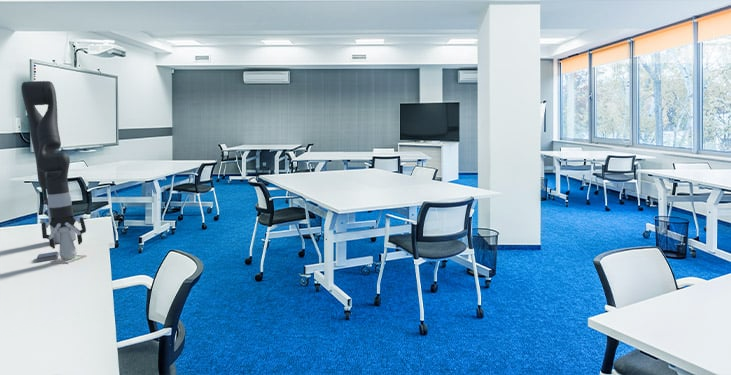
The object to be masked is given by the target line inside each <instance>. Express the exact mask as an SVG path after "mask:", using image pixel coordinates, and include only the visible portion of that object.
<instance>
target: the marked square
mask: <svg viewBox="0 0 731 375" xmlns="http://www.w3.org/2000/svg"><path fill="white" fill-rule="evenodd" d="M84 258H87V255H85V254H82V255H80V254H76V257H75V258H74V259H72V260H62V258H61V257H60V258H59V257H58V259H54V260H50V263H52V264H70V263H74V262H75V261H79V260H81V259H84Z"/></svg>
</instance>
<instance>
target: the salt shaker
mask: <svg viewBox="0 0 731 375" xmlns="http://www.w3.org/2000/svg"><path fill="white" fill-rule="evenodd" d="M70 231H71V229H70V228H69V227H60V228H59V230H58V233H60V243H59V251H58V252H59V257H60V258H62V260H72V259H74V258H75V257H76V255H78V254H77V253H78V251H77V249H76V246H75V244H74V240H72V238H71V235H70Z"/></svg>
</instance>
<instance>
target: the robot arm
mask: <svg viewBox="0 0 731 375" xmlns="http://www.w3.org/2000/svg"><path fill="white" fill-rule="evenodd" d="M20 88H21V94H22V95H21V96H22V99H23V102H24V103H23V104H24V107H25V111H26V115H27V119H28V124H29V132H30V133H29V134H30V138H31V145H32V148H33V152H34V156H35V157H34V158H35V162H36V172H37V173H36V174H37V182H38V184H39V187H40V188H41V189H42V190H46V194H47V198H45V204H46V205H45V206H46V209H47V217H48V221H47V222H46V221H42V222H41V234H42V239H43V240H44V239H47V240H48V241H49V247H50V248H52V249H56V245H55V244H60V233H58V230H59V228H60V227H69V228H70V229H71V231H70V235H71V238H72V240H73V241H75V240H76V239H77V243H78V244H77V245H81V244H82V242H83V236H82V235H83V234H85V233H86V231H87V229H86V225H85V219H84V216H80V217H75V216H74V210H73V204H72V197H71V193H70V188H69V182H68V181H69V180H68V176H69V175H68V174H69V169H70V161H71V159H70V156H69V154H68V153H67V152H65V151H57V150H59V149H60V148H61V146H62V143H61V137H60V136H61V135H60V132H59V125H58V124H59V123H58V104H57V103H58V102H57V93H56V89H55V86H54V84H53V82H51V81H49V80H42V81H41V80H40V81H39V80H38V81H37V80H36V81H24V82H22V83H21V87H20ZM36 106H47V108H46V111H45V113H44V115H41V113H40V112H39V111H38V109H37V107H36ZM56 151H57V152H56ZM76 222H77V223H78V224H80V228H81V230H80V229H78V227H77V226H75V223H76ZM48 227H49V230H50V234H48V233H47V232H48V231H47V228H48ZM76 235H77V237H76Z"/></svg>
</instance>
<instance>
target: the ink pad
mask: <svg viewBox="0 0 731 375" xmlns="http://www.w3.org/2000/svg"><path fill="white" fill-rule="evenodd" d="M59 252H60V251H52V252H51V251H50V252H46V253H39V254H38V255H37V257H36V258H35V262H36V263H41V262H47V261H53V260H56V259H59V257H60V254H59Z"/></svg>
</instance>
